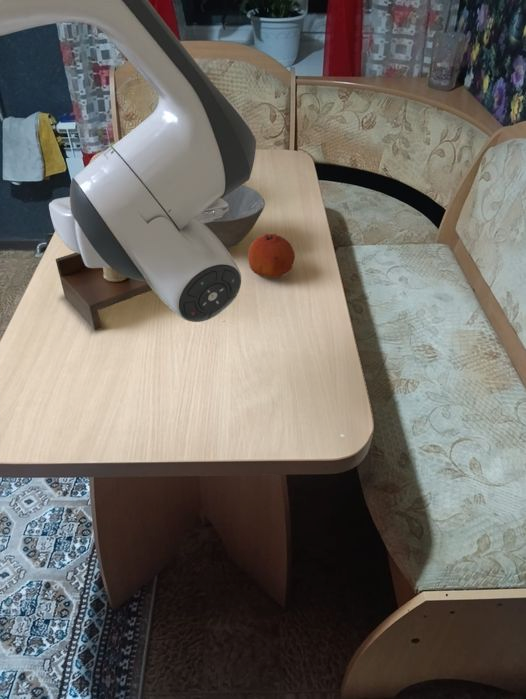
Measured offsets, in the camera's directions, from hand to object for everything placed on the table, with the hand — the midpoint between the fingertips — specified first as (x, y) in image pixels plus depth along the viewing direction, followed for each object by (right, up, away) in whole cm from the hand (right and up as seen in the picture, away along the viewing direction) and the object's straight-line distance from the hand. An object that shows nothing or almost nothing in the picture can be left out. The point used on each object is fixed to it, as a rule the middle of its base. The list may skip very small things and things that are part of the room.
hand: (119, 185), depth 72 cm
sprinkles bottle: (-6, -9, +21) cm, 24 cm away
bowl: (+10, 0, +41) cm, 42 cm away
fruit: (+21, -7, +32) cm, 39 cm away
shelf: (-6, -13, +25) cm, 29 cm away
